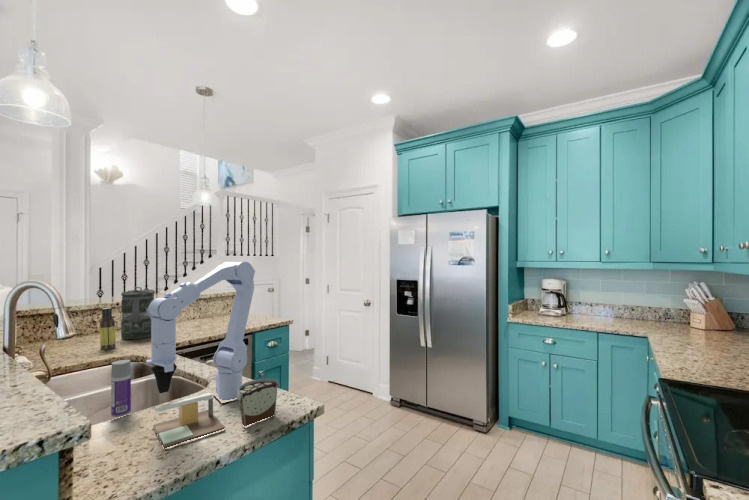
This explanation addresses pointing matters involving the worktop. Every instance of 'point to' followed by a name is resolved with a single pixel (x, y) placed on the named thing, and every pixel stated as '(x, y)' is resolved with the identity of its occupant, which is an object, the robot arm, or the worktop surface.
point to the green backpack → (136, 314)
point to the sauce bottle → (107, 329)
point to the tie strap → (185, 402)
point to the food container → (257, 400)
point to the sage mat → (175, 434)
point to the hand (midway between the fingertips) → (163, 391)
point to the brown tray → (193, 425)
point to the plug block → (188, 413)
